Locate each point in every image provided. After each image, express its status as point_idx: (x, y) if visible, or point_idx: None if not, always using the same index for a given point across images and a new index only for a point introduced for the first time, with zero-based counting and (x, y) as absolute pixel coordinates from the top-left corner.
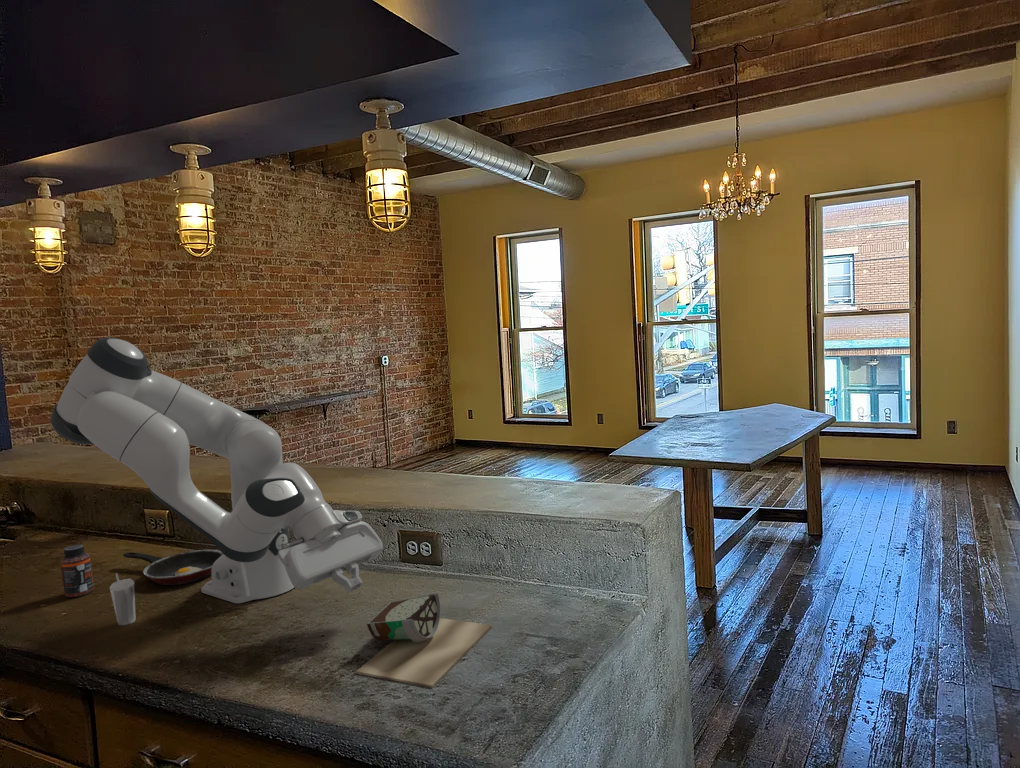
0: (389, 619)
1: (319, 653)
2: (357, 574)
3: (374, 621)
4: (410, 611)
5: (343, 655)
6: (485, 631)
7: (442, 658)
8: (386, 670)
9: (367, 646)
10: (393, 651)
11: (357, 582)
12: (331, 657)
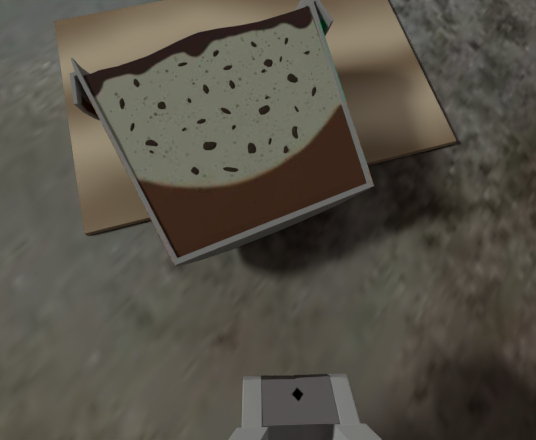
0: (320, 105)
1: (472, 347)
2: (244, 437)
3: (345, 170)
4: (245, 60)
5: (423, 261)
6: (95, 13)
7: (270, 13)
8: (398, 80)
9: (339, 242)
10: None
11: (281, 384)
12: (457, 284)
